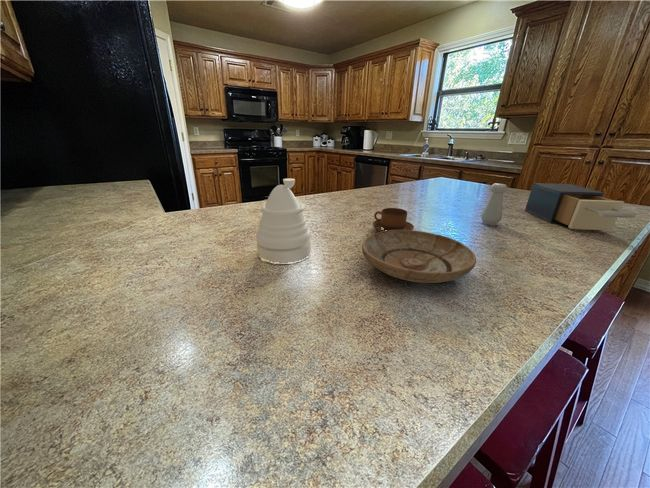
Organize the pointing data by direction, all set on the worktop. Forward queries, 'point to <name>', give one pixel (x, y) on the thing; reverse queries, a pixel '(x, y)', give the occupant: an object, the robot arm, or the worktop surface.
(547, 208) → the cabinet
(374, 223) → the cup and saucer
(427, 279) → the ceramic bowl
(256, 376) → the worktop surface
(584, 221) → the drawer
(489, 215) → the salt shaker
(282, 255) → the honey pot
